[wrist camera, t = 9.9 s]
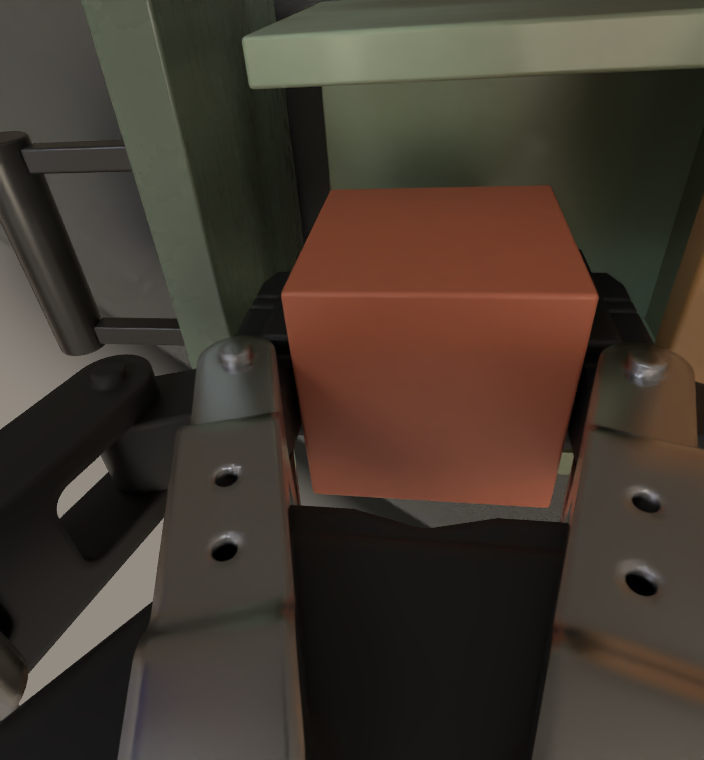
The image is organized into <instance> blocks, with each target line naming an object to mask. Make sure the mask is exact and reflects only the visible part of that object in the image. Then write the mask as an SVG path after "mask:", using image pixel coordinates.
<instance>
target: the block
mask: <svg viewBox="0 0 704 760" xmlns="http://www.w3.org/2000/svg"><path fill="white" fill-rule="evenodd" d="M281 298H282V305H283V311H284V317H285V323H286V329H287V335H288V341H289V347H290V353H291V359H292V365H293V372H294V378H295V384H296V390H297V396H298V402H299V408H300V414H301V420H302V426H303V432H304V439H305V445H306V451H307V457H308V462H309V469H310V475H311V481H312V487H313V491H314V493H316V494H331V495H347V496H363V497H380V498H395V499H412V500H428V501H444V502H460V503H476V504H492V505H508V506H525V507H541V508H547V507H549V506H550V503H551V498H552V494H553V490H554V486H555V481H556V477H557V473H558V469H559V464H560V460H561V456H562V452H563V447H564V443H565V439H566V435H567V430H568V426H569V422H570V418H571V413H572V409H573V405H574V401H575V396H576V392H577V388H578V384H579V379H580V375H581V371H582V367H583V362H584V358H585V354H586V350H587V345H588V341H589V337H590V333H591V328H592V324H593V320H594V316H595V311H596V307H597V303H598V299H599V296H598V293H597V291H596V288H595V286H594V284H593V281H592V279H591V277H590V275H589V272H588V270H587V268H586V265H585V263H584V261H583V259H582V256H581V254H580V252H579V249H578V247H577V245H576V243H575V240H574V238H573V236H572V233H571V231H570V229H569V226H568V224H567V222H566V220H565V217H564V215H563V213H562V210H561V208H560V206H559V204H558V201H557V199H556V197H555V194H554V192H553V190H552V188H551V186H549V185H535V186H487V187H439V188H391V189H343V190H331V191H330V192H329V194H328V196H327V199H326V201H325V203H324V205H323V207H322V209H321V211H320V213H319V215H318V217H317V219H316V221H315V224H314V226H313V228H312V230H311V232H310V234H309V236H308V238H307V240H306V242H305V244H304V247H303V249H302V251H301V253H300V255H299V257H298V259H297V261H296V263H295V265H294V267H293V269H292V272H291V274H290V276H289V278H288V280H287V282H286V284H285V286H284V288H283V290H282V293H281Z"/></svg>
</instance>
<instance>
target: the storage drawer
mask: <svg viewBox="0 0 704 760" xmlns="http://www.w3.org/2000/svg"><path fill="white" fill-rule="evenodd" d="M81 3H82V6H83V9H84V12H85V16H86V19H87V22H88V26H89V29H90V32H91V36H92V39H93V42H94V45H95V49H96V52H97V55H98V59H99V62H100V65H101V69H102V72H103V75H104V79H105V82H106V85H107V88H108V92H109V95H110V98H111V102H112V105H113V108H114V112H115V115H116V118H117V122H118V125H119V128H120V131H121V135H122V138H123V140H110V141H81V142H53V143H33V144H32V143H31V140H30V138H29V136H28V134H27V133H25V132H20V131H8V132H0V222H1V224H2V226H3V228H4V230H5V232H6V234H7V236H8V239H9V241H10V243H11V245H12V247H13V249H14V251H15V253H16V256H17V258H18V260H19V262H20V264H21V266H22V268H23V270H24V272H25V275H26V277H27V278H28V281H29V283H30V285H31V287H32V289H33V292H34V294H35V296H36V298H37V300H38V302H39V304H40V306H41V308H42V311H43V313H44V315H45V317H46V319H47V321H48V323H49V325H50V328H51V330H52V332H53V334H54V336H55V338H56V340H57V342H58V345H59V347H60V349H61V351H62V352H63V353H65V354H66V355H70V356H81V355H86V354H89V353H92V352H94V351H96V350H98V349H100V348H101V347H103V346H104V345H105V344H138V345H181V346H186V350H187V353H188V356H189V360H190V363H191V366H192V369H195V368H197V361H198V358H199V356H200V354H201V353H202V352H203V351H204V350H205V349H206V348H207V347H208V346H210V345H211V344H213V343H215V342H217V341H219V340H222V339H225V338H228V337H233V336H235V335H236V333H237V331H238V329H239V327H240V325H241V324H242V322H243V320H244V318H245V316H246V314H247V312H248V311H249V309H251V305H252V303H253V301H254V300H255V298H257V294H258V292H259V290H260V288H261V287H262V285H263V283H264V282H265V281H267V280H268V279H270V278H271V277H272V276H274V275H275V274H276V273H278V272H291V270H292V268H293V266H294V264H295V262H296V260H297V258H298V255H299V253H300V252H301V250H302V249H303V247H304V239H303V231H302V223H301V215H300V207H299V199H298V191H297V184H296V176H295V168H294V160H293V152H292V144H291V136H290V128H289V120H288V112H287V104H286V96H285V88H296V87H317V86H321V90H322V102H323V113H324V124H325V135H326V147H327V158H328V169H329V180H330V191H331V190H343V189H391V188H439V187H487V186H535V185H549V186H551V188H552V190H553V192H554V194H555V197H556V199H557V201H558V204H559V206H560V208H561V210H562V213H563V215H564V217H565V220H566V222H567V224H568V226H569V229H570V231H571V233H572V236H573V238H574V240H575V243H576V245H577V247H578V249H581V250H582V252H583V254H584V256H585V259H586V261H587V263H588V265H589V268H590V270H591V272H592V273H607V274H609V275H610V276H612V277H613V278H615V279H616V280H617V281H619V282H620V283H622V284H623V285H624V287H625V289H626V291H627V293H628V295H629V297H630V298H631V300H630V302H633V304H634V306H635V308H636V310H637V312H636V313H638V314H639V316H640V318H641V319H642V321H643V323H644V325H645V327H646V329H647V331H648V333H649V335H650V337H651V339H652V340H653V342H654V343H655V340H656V337H657V334H658V331H659V328H660V325H661V322H662V319H663V316H664V312H665V309H666V306H667V303H668V300H669V297H670V294H671V291H672V288H673V285H674V282H675V279H676V276H677V273H678V270H679V267H680V264H681V261H682V257H683V254H684V251H685V248H686V245H687V242H688V239H689V236H690V233H691V230H692V227H693V224H694V221H695V218H696V215H697V212H698V209H699V205H700V202H701V199H702V196H703V193H704V0H341V1H327V2H320V3H317V4H315V5H314V6H311V7H309V8H307V9H305V10H302V11H300V12H298V13H296V14H293V15H291V16H289V17H287V18H284V19H282V20H280V21H278V22H276V16H275V8H274V0H81ZM129 171H133V174H134V178H135V181H136V184H137V188H138V191H139V194H140V198H141V201H142V204H143V208H144V211H145V214H146V217H147V221H148V224H149V227H150V231H151V234H152V237H153V241H154V244H155V247H156V251H157V254H158V257H159V260H160V264H161V267H162V270H163V274H164V277H165V280H166V284H167V287H168V290H169V294H170V297H171V300H172V303H173V307H174V310H175V313H176V317H177V319H169V318H101V316H100V313H99V310H98V308H97V305H96V303H95V300H94V298H93V295H92V293H91V290H90V288H89V285H88V283H87V280H86V278H85V275H84V273H83V270H82V268H81V265H80V263H79V260H78V258H77V255H76V253H75V250H74V248H73V245H72V243H71V240H70V238H69V235H68V233H67V230H66V228H65V225H64V223H63V220H62V218H61V215H60V213H59V210H58V208H57V205H56V203H55V200H54V198H53V195H52V193H51V190H50V188H49V185H48V183H47V180H46V178H45V175H44V174H52V173H90V172H129ZM573 458H574V455H573V451H572V448H563V452H562V456H561V460H560V464H559V469H558V473H557V474H567V475H569V473H570V469H571V466H572V462H573Z"/></svg>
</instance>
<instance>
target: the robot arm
mask: <svg viewBox="0 0 704 760" xmlns="http://www.w3.org/2000/svg"><path fill="white" fill-rule="evenodd" d="M301 251H302V250H301ZM579 252H580V254H581V256H582V259H583V261H584V263H585V265H586V268H587V270H588V272H589V275H590V277H591V279H592V281H593V284H594V286H595V288H596V291H597V293H598V296H599V299H598V303H597V307H596V311H595V316H594V320H593V324H592V328H591V333H590V337H589V341H588V345H587V350H586V354H585V358H584V362H583V367H582V371H581V375H580V379H579V384H578V388H577V392H576V396H575V401H574V405H573V409H572V413H571V418H570V422H569V426H568V430H567V435H566V439H565V443H564V447H563V448H572V451H573V455H574V458H573V462H572V466H571V469H570V473H569V478H568V483H567V488H566V493H565V498H564V503H563V508H562V513H561V518H560V522H547V521H532V520H516V519H501V518H496V519H489V520H483V521H476V522H469V523H463V524H456V525H449V526H443V527H436V528H427V529H426V528H418V527H414V526H411V525H407V524H404V523H400V522H397V521H394V520H390V519H387V518H383V517H380V516H376V515H373V514H369V513H366V512H362V511H359V510H355V509H345V508H330V507H315V506H301V503H300V494H299V486H298V477H297V468H296V459H295V454H294V447H295V443H296V440H297V437H298V435H304V432H303V426H302V420H301V414H300V408H299V402H298V396H297V390H296V384H295V378H294V372H293V365H292V359H291V353H290V347H289V341H288V335H287V329H286V323H285V317H284V311H283V305H282V298H281V293H282V290H283V288H284V286H285V284H286V282H287V280H288V278H289V276H290V274H291V272H292V270H291V272H278V273H276V274H275V275H274V276H272V277H271V278H270V279H268V280H267V281H265V282H264V283H263V285H262V287H261V288H260V290H259V292H258V294H257V298H255V300H254V301H253V303H252V305H251V309H249V311H248V312H247V314H246V316H245V318H244V320H243V322H242V324H241V325H240V327H239V329H238V331H237V333H236V335H235V336H233V337H228V338H225V339H222V340H219V341H217V342H215V343H213V344H211V345H210V346H208V347H207V348H206V349H205V350H204V351H203V352H202V353H201V354H200V356H199V358H198V361H197V368H195V369H192V370H187V371H183V372H177V373H171V374H166V375H161V376H155V375H154V372H153V370H152V367H151V365H150V363H149V361H148V360H146V359H145V358H143V357H140V356H137V355H116V356H111V357H107V358H104V359H101V360H98V361H96V362H93V363H92V364H89V365H88V366H86V367H84V368H83V369H81V370H80V371H79V372H77V373H76V374H75V375H73V376H72V377H71V378H69V379H68V380H67V381H65V382H64V383H63V384H61V385H60V386H59V387H57V388H56V389H54V390H53V391H52V392H50V393H49V394H48V395H47V396H45V397H44V398H43V399H41V400H40V401H38V402H37V403H36V404H34V405H33V406H32V407H30V408H29V409H28V410H26V411H25V412H24V413H22V414H21V415H19V416H18V417H17V418H15V419H14V420H13V421H11V422H10V423H9V424H7V425H6V426H5V427H3V428H2V429H1V430H0V760H704V384H702V383H699V382H696V381H695V373H694V370H693V368H692V366H691V365H690V364H689V362H688V361H686V360H685V359H684V358H683V357H681V356H680V355H678V354H677V353H675V352H673V351H671V350H668V349H666V348H663V347H660V346H657V345H655V344H654V342H653V340H652V339H651V337H650V335H649V333H648V331H647V329H646V327H645V325H644V323H643V321H642V319H641V318H640V316H639V314H638V313H636V312H637V310H636V308H635V306H634V304H633V302H630V300H631V298H630V297H629V295H628V293H627V291H626V289H625V287H624V285H623V284H622V283H620V282H619V281H617V280H616V279H615V278H613V277H612V276H610V275H609V274H607V273H592V272H591V270H590V268H589V265H588V263H587V261H586V259H585V256H584V254H583V252H582V250H581V249H579ZM300 253H301V252H300ZM300 253H299V255H300ZM299 255H298V257H299ZM297 259H298V258H297ZM296 261H297V260H296ZM295 263H296V262H295ZM294 265H295V264H294ZM293 267H294V266H293ZM292 269H293V268H292ZM100 455H101V457H102V459H103V461H104V463H105V465H106V467H107V469H108V471H109V472H108V473H107V474H106V475H105V476H104V477H103V478H102V479H101V480H100V481H99V482H97V483H96V485H94V486H93V487H92V488H91V489H90V490H89V491H88V492H87V493H86V494H85V495H84V496H83V497H82V498H81V499H80V500H79V501H78V502H77V503H76V504H75V505H73V507H71V508H70V510H68V511H67V512H66V513H65V514H64V515H63V516H62V517H61V518H60V519H59V518H58V515H57V503H58V499H59V497H60V495H61V493H62V492H63V490H64V489H65V487H66V486H67V485H68V484H70V482H72V481H73V480H74V479H75V478H76V477H77V476H78V475H79V474H80V473H81V472H83V470H85V469H86V468H87V467H88V466H89V465H90V464H91V463H92V462H93V461H95V460H96V459H97V458H98V457H99V456H100ZM163 518H164V523H163V530H162V538H161V545H160V552H159V560H158V567H157V575H156V582H155V589H154V597H153V602H151V603H150V604H149V605H148V606H146V607H145V608H144V609H142V610H141V611H140V612H139V613H137V614H136V615H135V616H134V617H132V618H131V619H130V620H128V621H127V622H126V623H125V624H123V625H122V626H121V627H120V628H118V629H117V630H116V631H115V632H113V633H112V634H111V635H109V636H108V637H107V638H106V639H104V640H103V641H102V642H101V643H99V644H98V645H97V646H96V647H94V648H93V649H92V650H91V651H89V652H88V653H87V654H85V655H84V656H83V657H82V658H80V659H79V660H78V661H77V662H75V663H74V664H73V665H72V666H70V667H69V668H68V669H66V670H65V671H64V672H63V673H61V674H60V675H59V676H57V677H56V678H55V679H54V680H52V681H51V682H50V683H49V684H47V685H46V686H45V687H44V688H42V689H41V690H40V691H38V692H37V693H36V694H35V695H34V696H32V697H31V698H30V699H28V700H27V701H26V702H24V703H23V704H22V705H21V706H19V702H20V700H21V698H22V696H23V693H24V690H25V688H26V684H27V680H28V673H29V672H30V671H31V670H32V669H33V668H34V667H35V665H36V664H37V663H38V662H39V661H40V660H41V659H42V657H43V656H44V655H45V654H46V653H47V652H48V650H49V649H50V648H51V647H52V646H53V645H54V644H55V642H56V641H57V640H58V639H59V638H60V637H61V635H62V634H63V633H64V632H65V631H66V630H67V628H68V627H69V626H70V625H71V624H72V623H73V622H74V620H75V619H76V618H77V617H78V616H79V615H80V613H81V612H82V611H83V610H84V609H85V608H86V607H87V605H88V604H89V603H90V602H91V601H92V600H93V598H94V597H95V596H96V595H97V594H98V593H99V591H100V590H101V589H102V588H103V587H104V586H105V585H106V584H107V582H108V581H109V580H110V579H111V578H112V577H113V576H114V574H115V573H116V572H117V571H118V570H119V569H120V567H121V566H122V565H123V564H124V563H125V562H126V561H127V559H128V558H129V557H130V556H131V555H132V554H133V553H134V551H135V550H136V549H137V548H138V547H139V546H140V544H141V543H142V542H143V541H144V540H145V539H146V537H147V536H148V535H149V534H150V533H151V532H152V531H153V529H154V528H155V527H156V526H157V525H158V524H159V523H160V521H161V520H162V519H163Z"/></svg>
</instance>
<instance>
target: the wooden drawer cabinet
mask: <svg viewBox="0 0 704 760" xmlns="http://www.w3.org/2000/svg"><path fill="white" fill-rule="evenodd" d="M654 344H655V345H657V346H660V347H663V348H666V349H668V350H671V351H673V352H675V353H677V354H678V355H680V356H681V357H683V358H684V359H685V360H686V361H688V362H689V364H690V365H691V366H692V368H693V370H694V373H695V381H696V382H699V383H702V384H704V193H703V196H702V199H701V202H700V205H699V209H698V212H697V215H696V218H695V221H694V224H693V227H692V230H691V233H690V236H689V239H688V242H687V245H686V248H685V251H684V254H683V257H682V261H681V264H680V267H679V270H678V273H677V276H676V279H675V282H674V285H673V288H672V291H671V294H670V297H669V300H668V303H667V306H666V309H665V312H664V316H663V319H662V322H661V325H660V328H659V331H658V334H657V337H656V340H655V343H654Z"/></svg>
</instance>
